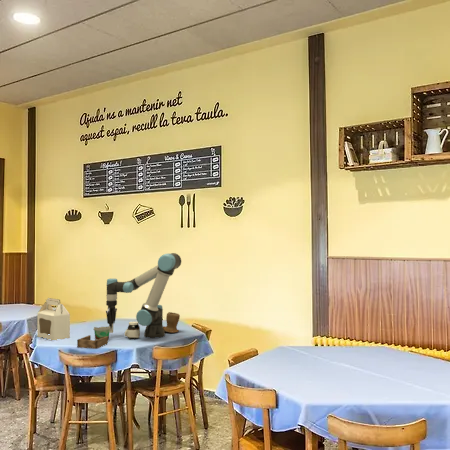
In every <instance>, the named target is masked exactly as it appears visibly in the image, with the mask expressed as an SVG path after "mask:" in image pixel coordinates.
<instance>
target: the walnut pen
mask: <svg viewBox="0 0 450 450" xmlns="http://www.w3.org/2000/svg"><path fill="white" fill-rule="evenodd" d="M91 337H92V335H90V334H89V335H86V336H83V337H81V338H78V339H77V341H76V343H77V344H76V346H77V348H78V349H79V348H83V349H95V350H97V349H100V348H102V347H104V346H106V345H108V344H109V340H108V336H106V337H104V338H101V339H99V340H96V341H95V339H94V340H92V339H91ZM107 343H108V344H107ZM105 344H106V345H105ZM103 345H104V346H103ZM101 346H102V347H101Z"/></svg>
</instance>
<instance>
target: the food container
mask: <svg viewBox="0 0 450 450" xmlns="http://www.w3.org/2000/svg"><path fill="white" fill-rule="evenodd" d="M110 329H111V328H110V325H109V324H108V326H100V327H97V326H93V332H94V340H95V341H96V340H99V339H101V338H104V337H106V336H108V341H109V339H110V333H109V331H110Z"/></svg>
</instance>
